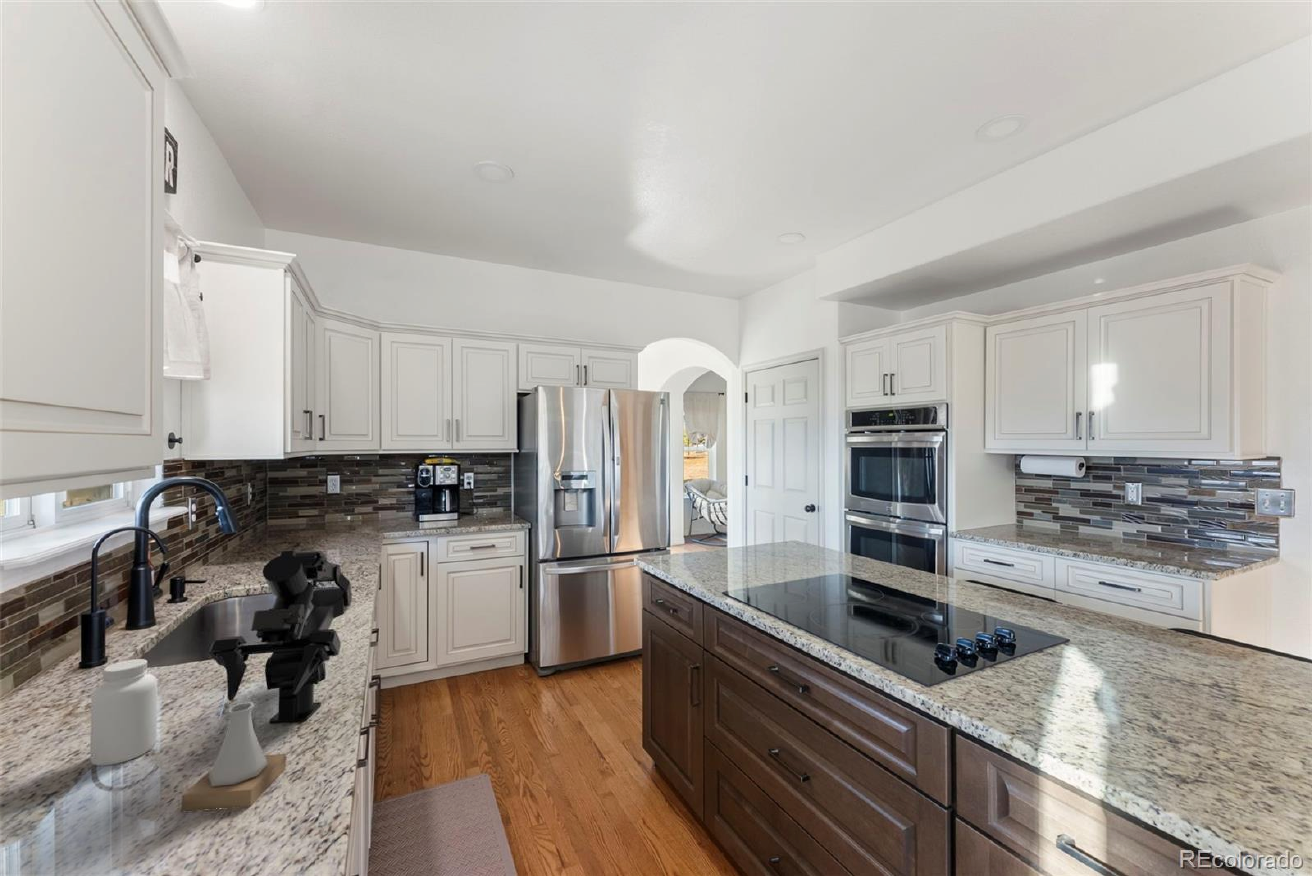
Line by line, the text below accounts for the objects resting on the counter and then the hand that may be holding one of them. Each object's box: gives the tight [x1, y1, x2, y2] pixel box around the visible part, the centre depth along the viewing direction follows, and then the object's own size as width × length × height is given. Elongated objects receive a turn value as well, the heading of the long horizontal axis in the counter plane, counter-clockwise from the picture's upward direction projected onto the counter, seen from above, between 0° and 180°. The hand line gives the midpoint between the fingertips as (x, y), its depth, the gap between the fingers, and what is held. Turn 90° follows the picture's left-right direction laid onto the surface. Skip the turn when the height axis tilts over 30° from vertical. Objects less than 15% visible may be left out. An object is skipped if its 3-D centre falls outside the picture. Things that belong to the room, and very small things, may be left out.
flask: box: [208, 701, 268, 786], centre depth 80 cm, size 7×7×10 cm
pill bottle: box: [89, 658, 158, 767], centre depth 89 cm, size 8×8×15 cm
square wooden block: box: [181, 753, 287, 812], centre depth 80 cm, size 9×9×3 cm
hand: (262, 696), depth 87 cm, fingers open, 9 cm apart
